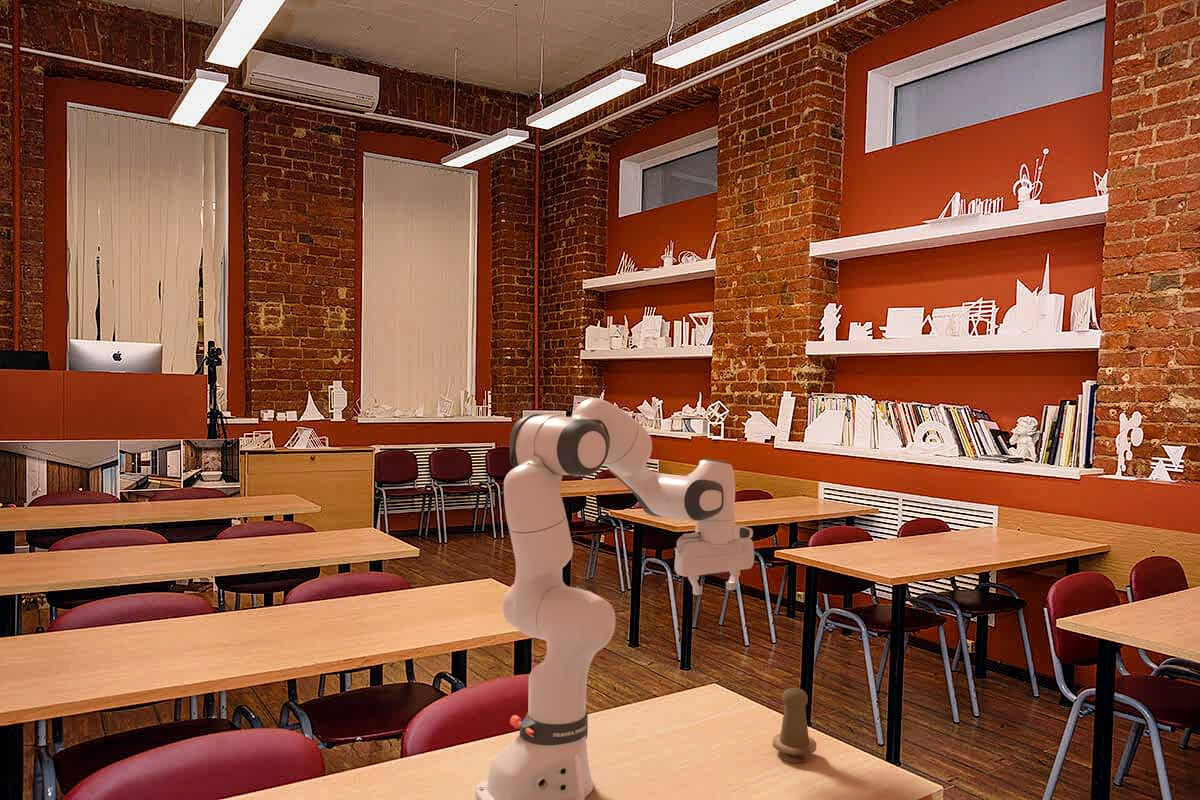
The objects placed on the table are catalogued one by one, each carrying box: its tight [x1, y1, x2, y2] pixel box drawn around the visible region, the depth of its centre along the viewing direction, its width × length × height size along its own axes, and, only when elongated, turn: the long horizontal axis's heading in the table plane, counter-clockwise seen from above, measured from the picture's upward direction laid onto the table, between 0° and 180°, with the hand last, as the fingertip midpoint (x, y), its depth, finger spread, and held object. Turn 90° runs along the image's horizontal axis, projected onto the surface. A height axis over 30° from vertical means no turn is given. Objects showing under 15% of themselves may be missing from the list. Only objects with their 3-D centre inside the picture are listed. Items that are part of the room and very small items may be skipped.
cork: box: [780, 687, 810, 748], centre depth 181 cm, size 6×6×11 cm
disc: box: [772, 733, 817, 764], centre depth 181 cm, size 9×9×3 cm
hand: (714, 591), depth 195 cm, fingers open, 8 cm apart
